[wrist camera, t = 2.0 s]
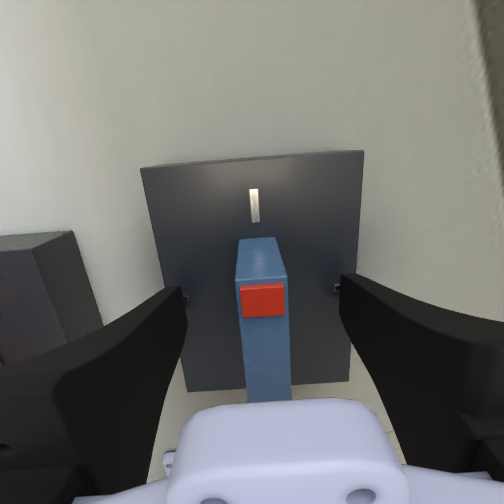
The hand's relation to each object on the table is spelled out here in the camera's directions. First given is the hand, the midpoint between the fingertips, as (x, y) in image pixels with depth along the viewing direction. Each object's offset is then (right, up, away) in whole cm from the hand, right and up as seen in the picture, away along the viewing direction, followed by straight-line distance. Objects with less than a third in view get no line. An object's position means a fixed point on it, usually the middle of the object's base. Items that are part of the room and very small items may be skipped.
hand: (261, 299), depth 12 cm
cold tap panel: (0, +1, +4) cm, 4 cm away
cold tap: (0, 0, +1) cm, 1 cm away
